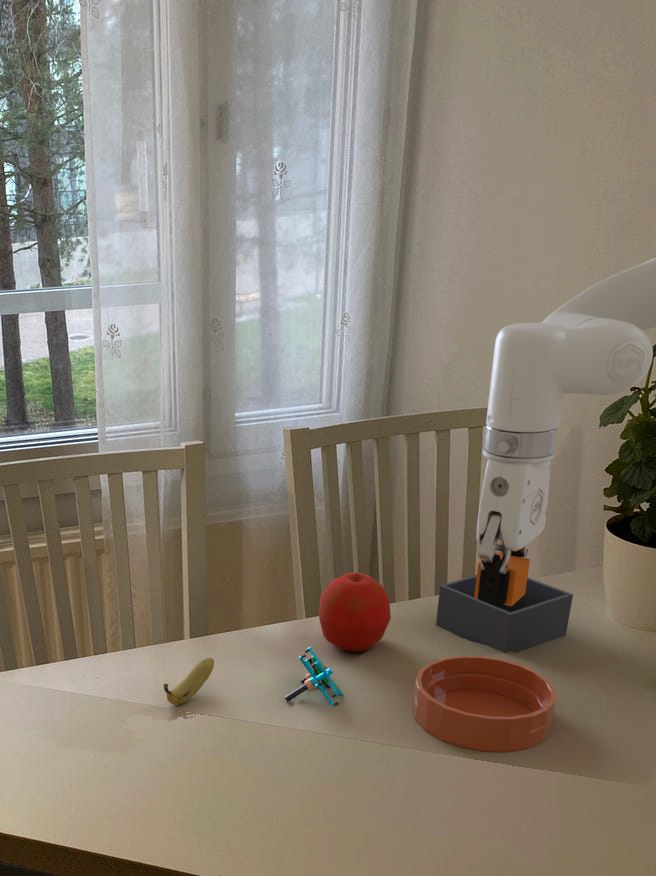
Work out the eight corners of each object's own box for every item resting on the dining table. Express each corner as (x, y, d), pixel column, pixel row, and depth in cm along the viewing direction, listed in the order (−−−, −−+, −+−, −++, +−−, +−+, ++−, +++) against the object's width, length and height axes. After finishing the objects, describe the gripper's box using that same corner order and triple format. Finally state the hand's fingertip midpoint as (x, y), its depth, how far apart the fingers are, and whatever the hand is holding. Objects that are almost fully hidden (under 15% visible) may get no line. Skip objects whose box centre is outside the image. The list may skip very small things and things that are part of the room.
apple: (315, 630, 138) (318, 559, 133) (383, 631, 137) (388, 559, 132) (319, 660, 129) (322, 585, 124) (391, 662, 128) (398, 585, 123)
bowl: (475, 678, 123) (480, 645, 121) (578, 730, 110) (585, 694, 108) (385, 711, 116) (388, 676, 114) (484, 771, 103) (490, 733, 101)
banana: (204, 680, 124) (204, 654, 123) (219, 685, 123) (219, 658, 121) (157, 709, 117) (156, 682, 116) (172, 715, 116) (171, 687, 114)
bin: (495, 605, 145) (501, 567, 142) (566, 634, 135) (573, 594, 132) (435, 624, 139) (439, 585, 136) (504, 656, 129) (510, 614, 126)
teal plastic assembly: (350, 702, 113) (315, 650, 113) (303, 732, 115) (268, 681, 114) (344, 682, 125) (313, 636, 125) (302, 709, 126) (270, 663, 126)
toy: (488, 586, 111) (492, 551, 109) (525, 594, 109) (530, 558, 107) (473, 598, 108) (478, 562, 106) (511, 606, 105) (516, 570, 103)
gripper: (526, 463, 92) (504, 627, 100) (579, 430, 104) (555, 579, 112) (455, 454, 97) (440, 611, 104) (513, 423, 108) (495, 567, 116)
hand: (500, 593), depth 108 cm, fingers closed on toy, 4 cm apart
